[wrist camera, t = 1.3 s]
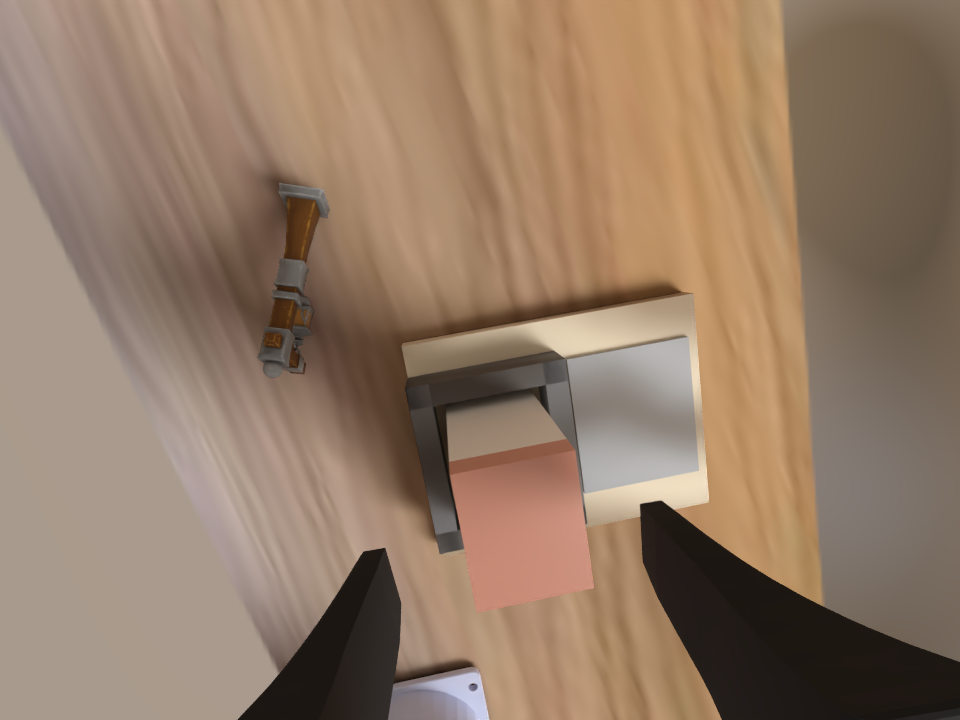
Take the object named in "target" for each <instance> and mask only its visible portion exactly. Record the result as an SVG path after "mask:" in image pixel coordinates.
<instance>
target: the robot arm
mask: <svg viewBox="0 0 960 720" xmlns="http://www.w3.org/2000/svg"><path fill="white" fill-rule="evenodd" d="M640 518H641V537H642V556H643V563H644V566H645V568H646V571H647V573H648V576H649V578H650V581H651V583H652V585H653V588H654V590H655V592H656V595H657V597H658V599H659V601H660V603H661V604H662V606H663V608H664V610H665V612H666V614H667V615H668V617H669V619H670V621H671V623H672V625H673V626H674V628H675V630H676V632H677V634H678V635H679V637H680V639H681V641H682V643H683V644H684V646H685V648H686V650H687V652H688V653H689V655H690V657H691V659H692V661H693V662H694V664H695V666H696V668H697V670H698V671H699V673H700V675H701V677H702V679H703V681H704V683H705V685H706V687H707V688H708V690H709V692H710V694H711V696H712V699H713V701H714V703H715V705H716V707H717V710H718V712H719V714H720V716H721V719H722V720H960V662H958V661H955V660H952V659H949V658H946V657H943V656H941V655H938V654H935V653H932V652H930V651H927V650H924V649H921V648H918V647H915V646H913V645H910V644H907V643H905V642H902V641H900V640H897V639H895V638H892V637H890V636H888V635H885V634H883V633H880V632H878V631H875V630H873V629H871V628H868V627H866V626H864V625H861V624H859V623H857V622H855V621H852V620H850V619H848V618H846V617H844V616H842V615H840V614H838V613H835V612H833V611H831V610H829V609H827V608H825V607H823V606H821V605H819V604H817V603H815V602H813V601H811V600H809V599H807V598H805V597H803V596H801V595H800V594H798V593H796V592H794V591H792V590H791V589H789V588H787V587H785V586H784V585H782V584H780V583H778V582H776V581H775V580H773V579H771V578H770V577H768V576H766V575H765V574H763V573H761V572H760V571H758V570H757V569H755V568H753V567H752V566H750V565H749V564H747V563H746V562H744V561H743V560H741V559H740V558H738V557H737V556H735V555H734V554H732V553H731V552H729V551H728V550H727V549H725V548H724V547H722V546H721V545H720V544H718V543H717V542H715V541H714V540H713V539H711V538H710V537H709V536H707V535H706V534H705V533H703V532H702V531H701V530H699V529H698V528H697V527H695V526H694V525H693V524H691V523H690V522H689V521H688V520H686V519H685V518H684V517H682V516H681V515H680V514H679V513H677V512H676V511H675V510H674V509H672V508H671V507H670V506H668V505H667V504H666V503H664V502H663V501H662V500H660V501H654V502H648V503H642V504H640ZM400 626H401V601H400V597H399V594H398V590H397V587H396V584H395V580H394V577H393V573H392V570H391V566H390V563H389V559H388V556H387V553H386V549H385V548H382V549H376V550H370V551H365V552H363V553H362V555H361V556H360V558H359V559H358V561H357V562H356V564H355V566H354V567H353V569H352V571H351V572H350V574H349V576H348V577H347V579H346V581H345V582H344V584H343V585H342V587H341V589H340V590H339V592H338V593H337V595H336V596H335V598H334V600H333V601H332V603H331V604H330V606H329V607H328V609H327V610H326V612H325V613H324V615H323V616H322V618H321V619H320V621H319V622H318V624H317V625H316V626H315V628H314V629H313V630H312V632H311V633H310V635H309V636H308V637H307V639H306V640H305V642H304V643H303V644H302V646H301V647H300V648H299V650H298V651H297V652H296V654H295V655H294V656H293V658H292V659H291V660H290V661H289V663H288V664H287V665H286V666H285V668H284V669H283V670H282V671H281V672H280V674H279V675H278V676H277V677H276V678H275V680H274V681H273V682H272V683H271V684H270V685H269V687H268V688H267V689H266V690H265V691H264V692H263V693H262V694H261V695H260V696H259V697H258V699H257V700H256V701H255V702H254V703H253V704H252V705H251V706H250V707H249V708H248V709H247V710H246V711H245V712H244V713H243V714H242V715H241V717H240V718H239V719H238V720H489V715H488V710H487V705H486V700H485V696H484V691H483V686H482V681H481V676H480V672H479V670H478V669H477V668H475V667H468V668H463V669H458V670H454V671H449V672H445V673H440V674H436V675H431V676H427V677H422V678H417V679H413V680H408V681H404V682H399V683H395V684H394V678H395V671H396V664H397V657H398V651H399V643H400ZM472 683H475V685H470V684H472Z"/></svg>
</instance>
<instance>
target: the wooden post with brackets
mask: <svg viewBox="0 0 960 720" xmlns="http://www.w3.org/2000/svg"><path fill="white" fill-rule="evenodd" d="M279 186H280V188H279V191H278V192H279V194H280V196H281V198H282V200H283V202H284V204H285V206H286V208H287V233H286V247H285V253H284V259H283V258H280V265H279V270H278V274H277V278H276V280H275V282H274V285H275V286H276V287H277V290H272V291H273V294H272V296H271V297H272V298H273V299H274V300H275V302H274V307H273V312H272V316H271V321H270V326H269V327H264V336H263V340H262V345H261V349H260V353H259V355H258V357H257V358H258V359H259V360H260V361H262V362H263V363H264V366H263V371H264V374H265V375H266V376H268V377H270V378H275V377H278V376H279V375H281V373H282V370H283V369H284V370H286V371H289V372H290V373H296V374H304V372H305V366H306V363H305V362H304V358H303V357H302V356H301V354H300V350H299V348H298V346H300V345H303V344H304V343H303V342H302V341H301V340H303V338H302V337H305V336H312V332H311V331H310V330H309V326H310V322H311V318H312V315H313V314H314V311H313V310H312V308H311V307H310V300H309V299H308V298H307V297H305V296H301V297H300V295H304V286H305V281H306V276H307V273H308V271H309V270H308V268H307V266H306V261H307V256H308V252H309V248H310V245H311V241H312V238H313V234H314V231H315V228H316V225H317V223H318V220H319V218H320V217H322V218H328V212H329V210H330V209H329V206H328V203H327V200H326V197H325V194H324V191H323V189H319V188H312V187H305V186H297V185H290V184H283V183H279ZM295 346H296V347H295ZM296 350H298V354H296V352H295V351H296Z"/></svg>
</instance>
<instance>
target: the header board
mask: <svg viewBox="0 0 960 720" xmlns="http://www.w3.org/2000/svg"><path fill="white" fill-rule="evenodd" d="M401 347H402V352H403V357H404V362H405V367H406V371H407V376H408V379H407V383H406V387H405V391H406V396H407V401H408V405H409V410H410V415H411V420H412V424H413V429H414V434H415V439H416V443H417V448H418V453H419V458H420V462H421V467H422V472H423V477H424V481H425V486H426V491H427V496H428V500H429V505H430V510H431V515H432V519H433V524H434V529H435V534H436V538H437V543H438V548H439V553H440V554H443V553H444V554H445V557H446V556H451V555H456V554H461V553H465V549H464V544H463V539H462V534H461V529H460V524H459V519H458V514H457V509H456V504H455V499H454V494H453V489H452V483H451V478H450V470H449V453H448V436H447V420H446V404H448V403H453V402H459V401H464V400H469V399H475V398H480V397H485V396H490V395H496V394H501V393H506V392H512V391H517V390H522V389H527V388H529V389H530V390H531V392H532V393H533V394H534V396H535V397H536V398H537V400H538V401H539V402H540V404H541V405H542V406H543V408H544V409H545V410H546V412H547V413H548V414H549V416H550V417H551V418H552V420H553V421H554V422H555V424H556V425H557V426H558V428H559V429H560V430H561V432H562V433H563V434H564V436H565V437H566V438H567V440H568V441H569V442H570V444H571V445H572V446H573V448H574V449H575V452H576V459H577V467H578V474H579V481H580V489H581V496H582V503H583V511H584V518H585V525H586V528H587V527H591V526H596V525H601V524H606V523H611V522H616V521H620V520H625V519H630V518H635V517H640V504H642V503H648V502H654V501H660V500H662V501H663V502H664V503H666V504H667V505H668V506H670V507H671V508H672V509H679V508H683V507H688V506H693V505H698V504H703V503H708V502H709V496H708V482H707V469H706V455H705V442H704V429H703V415H702V402H701V389H700V375H699V362H698V348H697V335H696V322H695V308H694V295H693V293H686V292H681V293H676V294H670V295H665V296H659V297H654V298H648V299H643V300H637V301H632V302H626V303H621V304H615V305H609V306H604V307H598V308H593V309H587V310H582V311H576V312H571V313H565V314H560V315H554V316H549V317H543V318H538V319H532V320H527V321H521V322H516V323H510V324H505V325H499V326H494V327H488V328H483V329H477V330H472V331H466V332H461V333H455V334H450V335H444V336H439V337H433V338H428V339H422V340H417V341H411V342H406V343H403V344H402V346H401Z"/></svg>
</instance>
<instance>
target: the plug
mask: <svg viewBox="0 0 960 720" xmlns="http://www.w3.org/2000/svg"><path fill="white" fill-rule="evenodd" d="M446 420H447V436H448V453H449V470H450V478H451V483H452V489H453V494H454V499H455V504H456V509H457V514H458V519H459V524H460V529H461V534H462V539H463V544H464V549H465V554H466V559H467V564H468V569H469V575H470V580H471V585H472V590H473V595H474V600H475V605H476V610H477V613H478V612H483V611H487V610H492V609H497V608H501V607H506V606H511V605H515V604H520V603H525V602H530V601H534V600H539V599H544V598H548V597H553V596H558V595H562V594H567V593H572V592H576V591H581V590H586V589H590V588H594V584H593V577H592V569H591V562H590V555H589V547H588V540H587V533H586V525H585V518H584V511H583V503H582V496H581V489H580V481H579V474H578V467H577V459H576V452H575V449H574V448H573V446H572V445H571V444H570V442H569V441H568V440H567V438H566V437H565V436H564V434H563V433H562V432H561V430H560V429H559V428H558V426H557V425H556V424H555V422H554V421H553V420H552V418H551V417H550V416H549V414H548V413H547V412H546V410H545V409H544V408H543V406H542V405H541V404H540V402H539V401H538V400H537V398H536V397H535V396H534V394H533V393H532V392H531V390H530V389H529V388H527V389H522V390H517V391H512V392H506V393H501V394H496V395H490V396H485V397H480V398H475V399H469V400H464V401H459V402H453V403H448V404H446Z"/></svg>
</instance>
